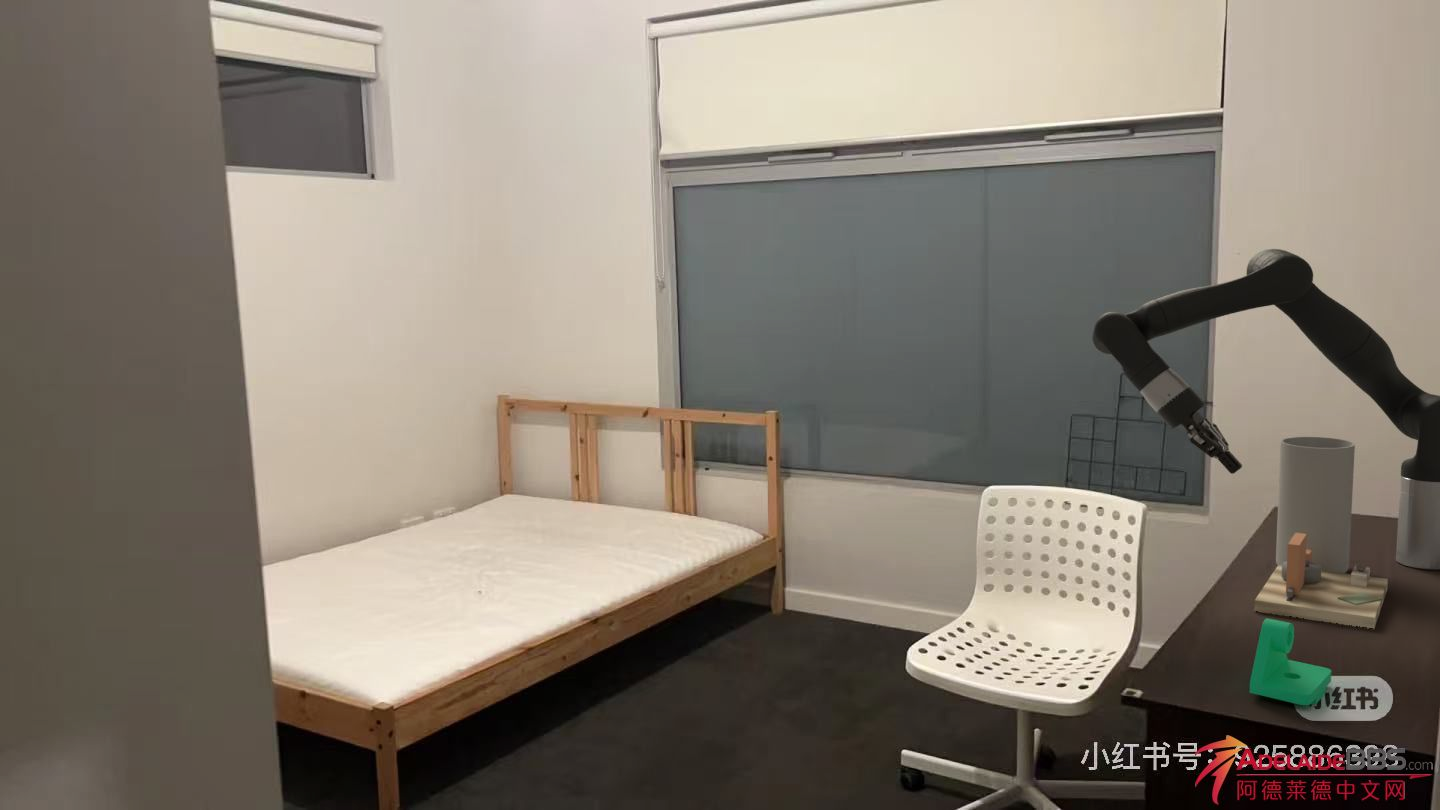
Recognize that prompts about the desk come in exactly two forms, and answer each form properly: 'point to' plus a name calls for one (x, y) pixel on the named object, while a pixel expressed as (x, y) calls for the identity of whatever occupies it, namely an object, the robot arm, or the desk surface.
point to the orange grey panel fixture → (1299, 566)
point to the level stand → (1328, 597)
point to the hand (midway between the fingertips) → (1237, 470)
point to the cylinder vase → (1316, 499)
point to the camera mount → (1285, 668)
